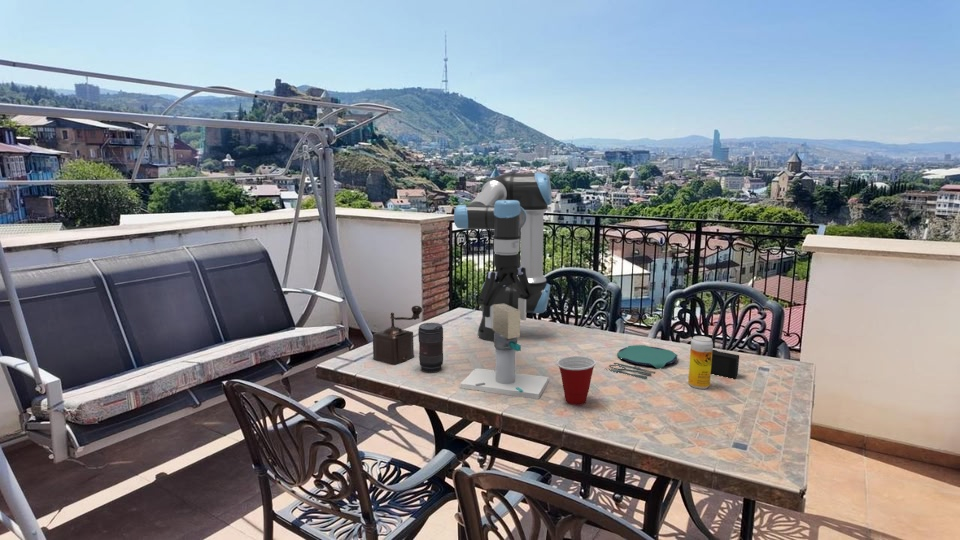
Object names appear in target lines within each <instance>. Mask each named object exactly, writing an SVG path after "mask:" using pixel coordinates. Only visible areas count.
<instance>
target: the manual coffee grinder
mask: <svg viewBox="0 0 960 540" xmlns="http://www.w3.org/2000/svg"><path fill="white" fill-rule="evenodd" d="M410 310H411V312H412V316H411V317H406V316H401V317H400V316H398V317H395V312H390V321H391V322H390V323H391V326H390V327H388V328H386V329H384V330H381V331H378V332H374V333H372V352H373V353H372V355H373V357H372V359H373V360H374V361H378V362H381V363H383V364H384V363H385V364H388V365H392V366H395V365H398V364H401V363H403V362H404V363H405V362H406V361H408V360H410V359H412V358H414V357H415V352H414V332H413V331H410V330H406V329H402V328H401V327H398V326H396V325H395V320H396V321H402V320H403V321H412V320H414V321H416V320H417V319H420V315H421V313H423V308H422V307H421V306H419V305H413V306H412V307H411V309H410Z"/></svg>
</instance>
